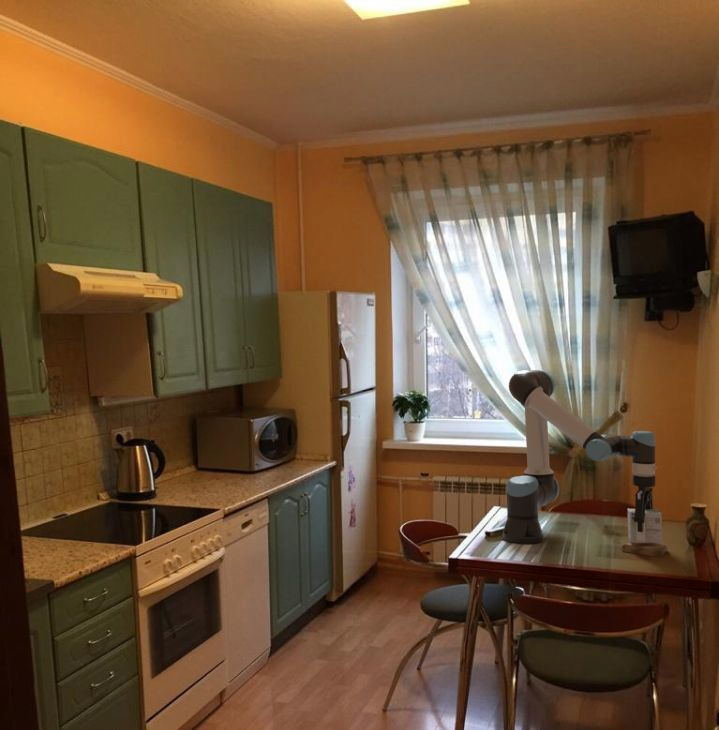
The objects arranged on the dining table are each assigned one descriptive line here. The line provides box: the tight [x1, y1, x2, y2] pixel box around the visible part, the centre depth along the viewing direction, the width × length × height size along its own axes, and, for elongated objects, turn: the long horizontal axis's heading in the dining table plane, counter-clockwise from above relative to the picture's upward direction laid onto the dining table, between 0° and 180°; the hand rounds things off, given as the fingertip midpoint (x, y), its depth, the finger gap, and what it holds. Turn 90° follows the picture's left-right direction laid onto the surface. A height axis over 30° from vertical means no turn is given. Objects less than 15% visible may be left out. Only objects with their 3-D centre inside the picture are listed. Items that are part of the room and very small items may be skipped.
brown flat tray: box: [621, 539, 668, 558], centre depth 237 cm, size 13×9×2 cm
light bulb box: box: [627, 507, 663, 544], centre depth 236 cm, size 11×7×11 cm, turn 78°
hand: (644, 537), depth 237 cm, fingers closed on light bulb box, 9 cm apart
